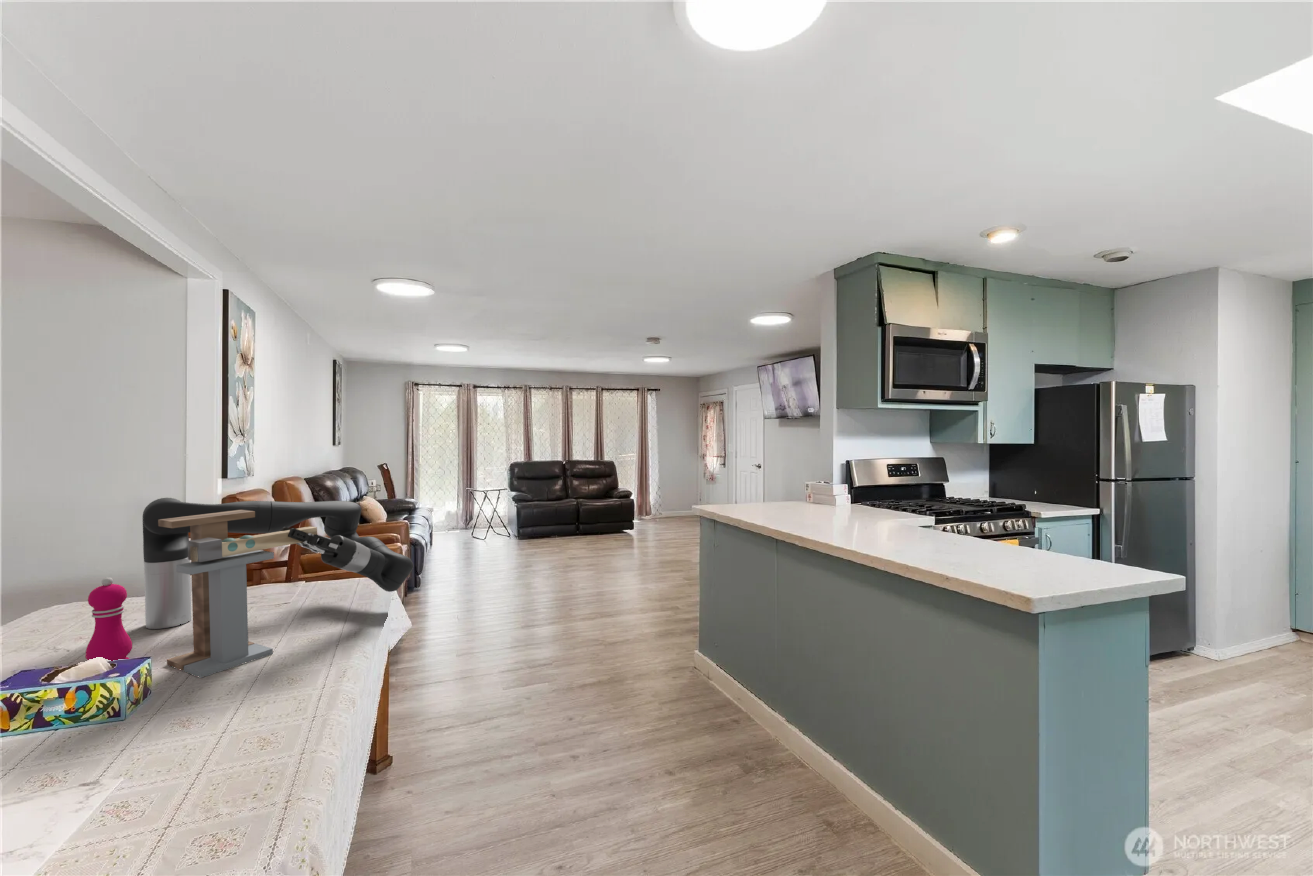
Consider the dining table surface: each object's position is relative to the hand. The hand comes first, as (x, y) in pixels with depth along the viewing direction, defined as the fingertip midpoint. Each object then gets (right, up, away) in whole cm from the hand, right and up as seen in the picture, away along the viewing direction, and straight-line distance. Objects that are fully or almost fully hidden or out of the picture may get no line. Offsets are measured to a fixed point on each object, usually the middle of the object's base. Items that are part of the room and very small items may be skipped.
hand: (286, 531), depth 135 cm
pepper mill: (-29, -28, -14) cm, 42 cm away
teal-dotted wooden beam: (-3, -3, -5) cm, 7 cm away
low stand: (-6, -27, -10) cm, 30 cm away
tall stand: (-12, -27, -7) cm, 31 cm away
